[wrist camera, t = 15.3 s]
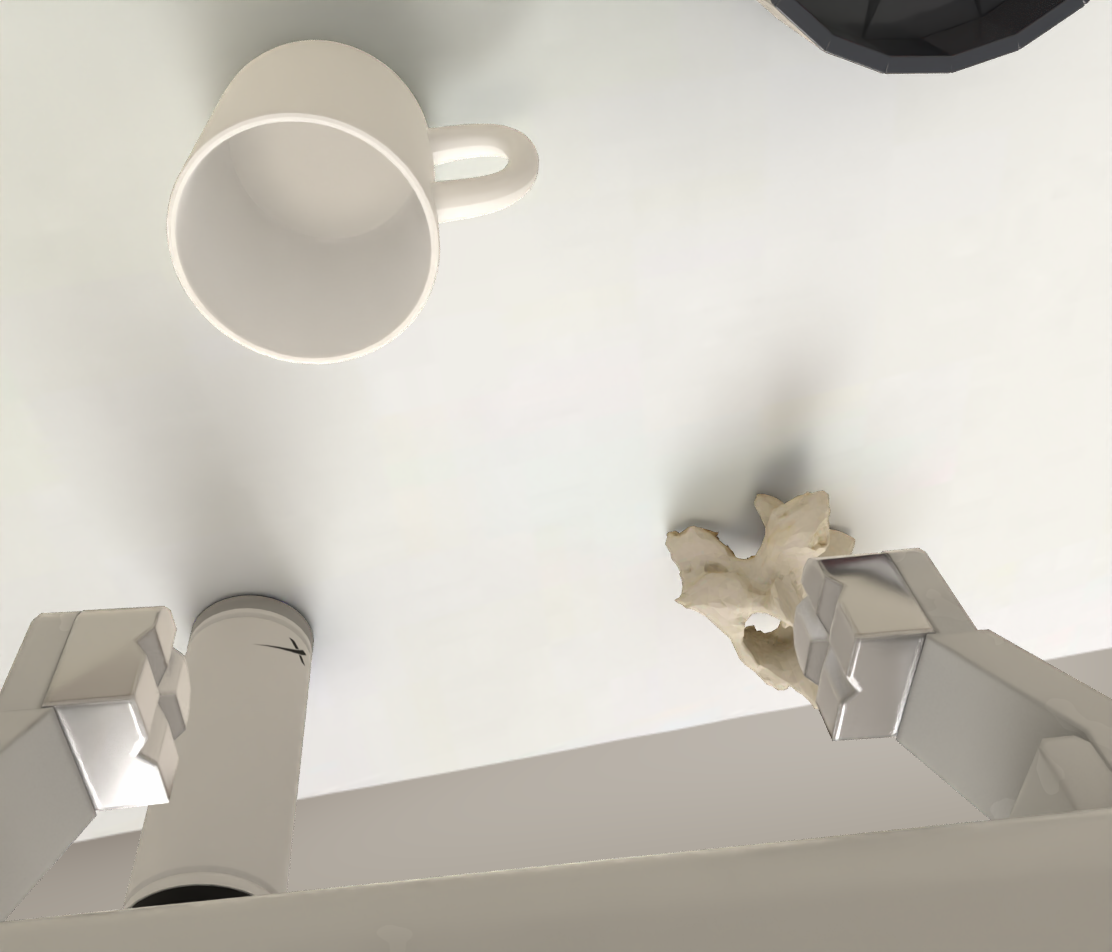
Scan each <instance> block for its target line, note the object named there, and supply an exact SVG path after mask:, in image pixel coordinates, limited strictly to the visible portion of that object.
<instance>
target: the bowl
mask: <svg viewBox="0 0 1112 952" xmlns="http://www.w3.org/2000/svg"><path fill="white" fill-rule="evenodd" d="M756 1H758V2H759V3H760V4H761V5H762V6H763V7H764V8H765V9H766V10H768V11H769V12H770V13H771V14H772V15H773V16H774V17H775V18H777V19H778V20H780V21H781V22H782V23H784V24H785V25H787V26H788V27H789V28H791V29H792V30H794V31H795V32H797V33H798V34H799V35H801V36H802V37H804V38H805V39H806V40H808V41H809V42H811V43H812V44H814V45H815V46H816V47H818V48H819V49H821V50H822V51H824V52H826V53H828V54H831V55H834V56H837V57H839V58H842V59H845V60H847V61H850V62H853V63H855V64H858V65H861V66H864V67H866V68H869V69H872V70H874V71H877V72H880V73H885V74H928V73H950V72H951V73H953V72H956V71H959V70H962V69H965V68H968V67H971V66H974V65H977V64H980V63H983V62H986V61H989V60H991V59H994V58H997V57H1000V56H1003V55H1006V54H1009V53H1012V52H1015V51H1018V50H1019V49H1021V48H1023V47H1024V46H1026V45H1027V44H1029V43H1030V42H1032V41H1033V40H1035V39H1036V38H1038V37H1039V36H1041V35H1042V34H1044V33H1045V32H1047V31H1048V30H1050V29H1051V28H1053V27H1054V26H1055V25H1057V24H1058V23H1060V22H1061V21H1063V20H1064V19H1066V18H1067V17H1069V16H1070V15H1072V14H1073V13H1075V12H1076V11H1078V10H1079V9H1081V8H1082V7H1084V4H1087V3H1088V2H1089V1H1090V0H756Z"/></svg>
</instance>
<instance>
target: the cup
mask: <svg viewBox="0 0 1112 952" xmlns="http://www.w3.org/2000/svg"><path fill="white" fill-rule="evenodd" d="M481 156H497V157H503V158H506V159H507V160H508V161H509V162H508V164H507V166H506V167H505V168H504V169H503V170H501V171H499V172H496V173H493V174H490V175H485V176H480V177H474V178H466V179H458V180H448V181H439V182H435V169H434V166H435V165H438V164H442V163H447V162H451V161H456V160H461V159H466V158H472V157H481ZM538 166H539V157H538V154H537V151H536V148H535V146H534V144H533V143H532V141H531V140H530V139H529V138H528V137H527V136H526V135H525V134H523V133H522V132H520V131H518V130H516V129H513V128H510V127H507V126H503V125H497V124H463V125H453V126H444V127H435V128H428V125H427V122H426V119H425V117H424V114H423V112H422V110H421V108H420V106H419V104H418V102H417V100H416V99H415V97H414V95H413V94H412V92H411V91H410V90H409V88H408V87H407V85H406V84H405V83H404V82H403V81H402V80H401V79H400V77H399V76H398V75H397V74H396V73H395V72H393V71H392V70H391V69H390V68H389V67H388V66H386V65H385V64H384V63H383V62H381V61H380V60H378V59H377V58H375V57H373V56H372V55H370V54H368V53H366V52H364V51H362V50H360V49H357V48H355V47H352V46H349V45H346V44H342V43H338V42H333V41H326V40H303V41H295V42H291V43H286V44H283V45H280V46H277V47H275V48H273V49H271V50H268V51H266V52H264V53H263V54H261V55H259V56H258V57H256V58H254V59H253V60H252V61H251V62H249V63H248V64H247V65H246V66H245V67H244V68H243V69H242V70H241V71H240V72H239V73H238V74H237V75H236V76H235V77H234V79H233V80H232V81H231V82H230V84H229V85H228V87H227V88H226V90H225V92H224V93H223V95H222V96H221V98H220V100H219V102H218V104H217V106H216V107H215V109H214V111H213V113H212V115H211V117H210V118H209V120H208V122H207V124H206V126H205V128H204V129H203V131H202V133H201V135H200V137H199V139H198V140H197V142H196V144H195V146H194V148H193V150H192V151H191V153H190V155H189V157H188V159H187V161H186V162H185V164H184V166H183V168H182V170H181V172H180V174H179V176H178V178H177V180H176V182H175V184H174V187H173V190H172V193H171V196H170V201H169V205H168V212H167V240H168V247H169V252H170V257H171V260H172V263H173V266H174V269H175V272H176V274H177V276H178V279H179V281H180V283H181V285H182V286H183V288H184V290H185V292H186V293H187V295H188V296H189V298H190V299H191V301H192V302H193V304H194V305H195V306H196V307H197V308H198V310H199V311H200V312H201V313H202V314H203V315H204V316H205V317H206V318H207V319H208V320H209V321H210V322H211V323H212V324H213V325H214V326H215V327H216V328H218V329H219V330H220V331H221V332H222V333H224V334H225V335H227V336H228V337H230V338H231V339H232V340H234V341H236V342H237V343H239V344H241V345H243V346H244V347H247V348H249V349H251V350H253V351H255V352H257V353H260V354H263V355H265V356H268V357H272V358H275V359H278V360H283V361H288V362H294V363H302V364H329V363H336V362H342V361H347V360H351V359H355V358H358V357H361V356H364V355H366V354H369V353H371V352H373V351H375V350H377V349H379V348H381V347H383V346H385V345H386V344H388V343H389V342H391V341H392V340H394V339H395V338H396V337H397V336H399V335H400V334H401V333H402V332H403V331H404V330H405V329H406V328H407V327H408V326H409V325H410V324H411V323H412V322H413V321H414V320H415V319H416V317H417V316H418V315H419V313H420V312H421V310H422V309H423V307H424V306H425V304H426V302H427V300H428V298H429V296H430V294H431V291H432V289H433V286H434V284H435V280H436V276H437V272H438V266H439V258H440V241H439V227H438V224H439V223H443V222H449V221H455V220H461V219H467V218H472V217H477V216H481V215H486V214H490V213H493V212H496V211H499V210H502V209H504V208H507V207H509V206H511V205H512V204H514V203H516V202H517V201H518V200H520V199H521V198H522V197H523V196H525V195H526V194H527V193H528V192H529V190H530V189H531V187H532V186H533V184H534V182H535V180H536V177H537V174H538Z"/></svg>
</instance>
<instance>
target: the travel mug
mask: <svg viewBox="0 0 1112 952" xmlns="http://www.w3.org/2000/svg"><path fill="white" fill-rule="evenodd" d="M313 642H314V640H313V633H312V630H311V628H310V626H309V624H308V622H307V621H306V620H305V618H304V617H303V616H302V615H301V614H300V613H299V612H298V611H296V610H295V609H294V608H292V607H291V606H289V605H287V604H286V603H283V602H281V601H278V600H276V599H273V598H268V597H264V596H254V595H245V596H236V597H231V598H227V599H224V600H222V601H219V602H217V603H215V604H213V605H212V606H210V607H208V608H207V609H205V610H204V611H203V612H202V613H201V614H200V615H199V616H198V618H197V619H196V621H195V622H194V625H193V628H192V631H191V635H190V639H189V643H188V647H187V652H186V655H185V659H186V663H187V666H188V670H189V678H190V686H191V694H190V712H189V717H188V722H187V727H186V730H185V731H184V732H183V733H182V734H181V735H180V736H179V737H178V738H176V739H175V740H174V742H175V746H176V749H177V752H178V756H179V762H178V766H177V770H176V775H175V779H174V783H173V787H172V792H171V796H170V800H169V803H162V804H154V805H148V808H147V812H146V816H145V820H144V824H143V828H142V832H141V837H140V840H139V844H138V848H137V853H136V857H135V861H134V865H133V869H132V873H131V877H130V881H129V885H128V889H127V893H126V897H125V901H124V905H123V909H129V908H139V907H149V906H158V905H168V904H178V903H187V902H197V901H207V900H217V899H226V898H236V897H246V896H255V895H265V894H275V893H285V892H287V887H288V877H289V867H290V859H291V849H292V840H293V830H294V821H295V812H296V802H297V793H298V783H299V774H300V765H301V755H302V746H303V736H304V727H305V718H306V708H307V699H308V689H309V680H310V671H311V660H312V652H313Z"/></svg>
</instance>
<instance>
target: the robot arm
mask: <svg viewBox="0 0 1112 952" xmlns="http://www.w3.org/2000/svg"><path fill="white" fill-rule="evenodd" d="M801 583H802V585H803V587H804V589H805V592H806V594H807V596H806V597H805V598H804V599H803V600H802V601H801V602H800V603H799V604H798V605H797V606H796V610H795V616H794V623H793V633H794V647H795V651H796V655H797V659H798V662H799V665H800V667H801V670H802V672H803V674H804V676H805V677H806V678H808V679H809V680H811V681H812V682H813V683H815V684H816V685H818V691H817V696H816V700H815V702H816V705H817V707H818V709H819V711H820V714H821V716H822V718H823V720H824V723H825V725H826V727H827V730H828V732H829V734H830V736H831V738H832V741H838V740H854V739H868V738H883V737H896V740H897V741H898V742H899V743H900V744H902V745H903V746H904V747H905V748H906V749H907V750H909V751H910V752H911V753H912V754H913V755H914V756H916V757H917V758H918V759H919V760H920V761H922V762H923V763H924V764H925V765H926V766H927V767H929V768H930V769H931V770H932V771H933V772H934V773H936V774H937V775H938V776H939V777H940V778H941V779H943V780H944V781H945V782H946V783H947V784H949V785H950V786H951V787H952V788H953V789H954V790H956V791H957V792H958V793H959V794H960V795H961V796H963V797H964V798H965V799H966V800H968V801H969V802H970V803H971V804H972V805H973V806H974V807H976V808H977V809H978V810H979V811H981V812H982V813H983V814H984V815H985V816H986V817H988V818H989V819H990V820H985V821H975V822H965V823H956V824H946V825H937V826H926V827H918V828H907V829H898V830H888V831H878V832H869V833H859V834H850V835H840V836H831V837H821V838H811V839H801V840H791V841H781V842H773V843H762V844H753V845H742V846H733V847H722V848H713V849H703V850H693V851H683V852H673V853H664V854H654V855H644V856H635V857H625V858H614V859H605V860H595V861H585V862H576V863H566V864H558V865H547V866H537V867H527V868H518V869H508V870H498V871H489V872H479V873H469V874H459V875H450V876H440V877H430V878H421V879H411V880H401V881H392V882H383V883H372V884H362V885H353V886H343V887H334V888H324V889H314V890H304V891H295V892H285V893H275V894H265V895H255V896H246V897H236V898H226V899H217V900H207V901H197V902H187V903H178V904H168V905H158V906H149V907H139V908H129V909H120V910H110V911H100V912H92V913H91V912H90V913H81V914H71V915H62V916H51V917H42V918H33V919H22V920H14V921H5V920H6V919H7V918H8V916H9V915H10V914H11V913H12V912H13V911H14V910H15V908H16V907H17V906H18V905H19V904H20V903H21V901H22V900H23V899H24V898H25V897H26V896H27V894H28V893H29V892H30V891H31V890H32V889H33V888H34V887H35V885H36V884H37V883H38V882H39V880H41V878H42V877H43V876H44V875H45V874H46V873H47V872H48V871H49V869H50V868H51V867H52V866H53V865H54V864H55V862H56V861H57V860H58V859H59V858H60V857H61V856H62V854H63V853H64V852H65V851H66V850H67V849H68V848H69V846H70V845H71V844H72V843H73V842H74V841H75V840H76V838H77V837H78V836H79V835H80V834H81V833H82V832H83V830H84V829H85V828H86V827H87V826H88V825H89V823H90V822H91V821H92V820H93V819H94V818H95V817H96V812H95V811H104V810H112V809H120V808H129V807H137V806H146V805H154V804H162V803H169V800H170V796H171V792H172V787H173V783H174V779H175V775H176V770H177V766H178V762H179V756H178V752H177V749H176V746H175V742H174V740H175V739H176V738H178V737H179V736H180V735H181V734H182V733H183V732H184V731H185V730H186V727H187V722H188V717H189V712H190V694H191V686H190V678H189V670H188V666H187V663H186V659H185V655H183V654H182V653H181V652H179V651H178V650H176V649H175V648H174V647H173V643H174V639H175V635H176V631H177V628H176V625H175V622H174V619H173V616H172V613H171V610H170V609H169V608H167V607H165V606H155V607H136V608H117V609H98V610H83V611H75V612H55V613H41V614H39V615H38V616H37V617H36V618H35V619H33V621H32V622H31V624H30V626H29V628H28V630H27V633H26V635H25V637H24V640H23V642H22V644H21V646H20V649H19V651H18V653H17V655H16V658H15V660H14V662H13V664H12V667H11V669H10V671H9V673H8V676H7V678H6V680H5V683H4V685H3V687H2V689H1V692H0V952H1112V699H1110V698H1109V697H1107V696H1105V695H1103V694H1102V693H1100V692H1098V691H1096V690H1095V689H1093V688H1091V687H1089V686H1087V685H1086V684H1084V683H1082V682H1080V681H1079V680H1077V679H1075V678H1073V677H1072V676H1070V675H1068V674H1066V673H1065V672H1062V671H1061V670H1059V669H1058V668H1056V667H1054V666H1052V665H1050V664H1049V663H1047V662H1045V661H1043V660H1042V659H1040V658H1038V657H1036V656H1035V655H1033V654H1031V653H1029V652H1028V651H1026V650H1024V649H1022V648H1020V647H1019V646H1017V645H1015V644H1013V643H1012V642H1010V641H1008V640H1006V639H1005V638H1003V637H1001V636H999V635H997V634H996V633H994V632H992V631H990V630H989V629H987V630H977V628H976V627H975V625H974V624H973V622H972V621H971V619H970V618H969V616H968V615H967V613H966V612H965V610H964V609H963V607H962V606H961V604H960V603H959V601H958V600H957V598H956V597H955V595H954V594H953V592H952V591H951V589H950V588H949V586H948V585H947V583H946V582H945V580H944V579H943V577H942V576H941V574H940V573H939V571H938V570H937V568H936V567H935V565H934V564H933V562H932V561H931V559H930V558H929V556H928V555H927V553H926V552H925V551H923V550H921V549H920V548H911V549H901V550H890V551H882V552H881V553H880V552H875V553H863V554H851V555H838V556H826V557H814V558H808V560H807V562H806V563H805V565H804V568H803V573H802V577H801Z"/></svg>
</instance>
